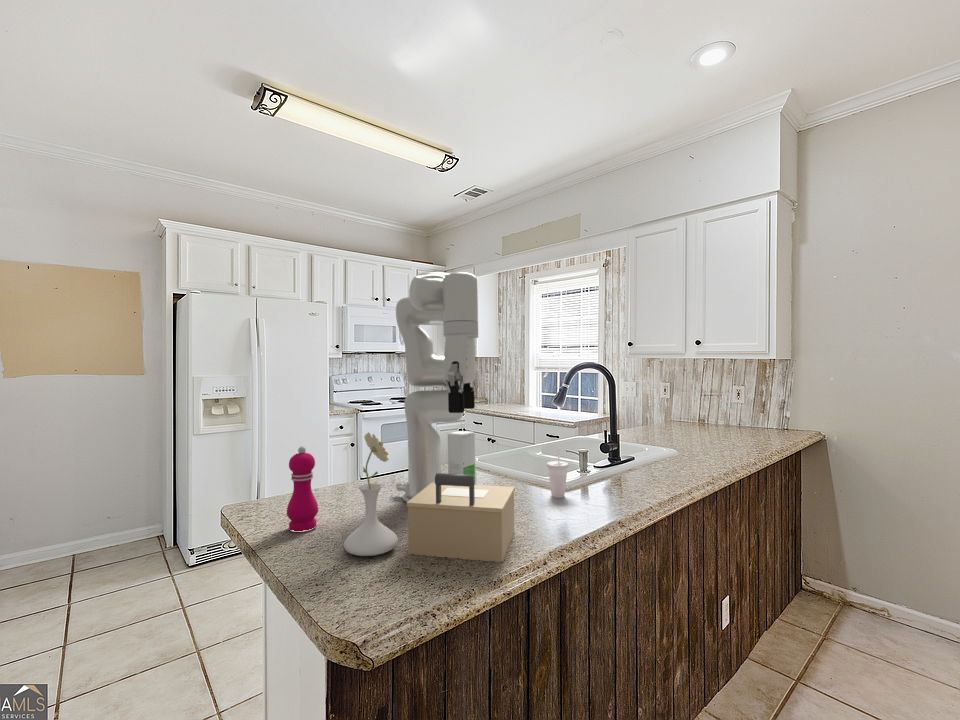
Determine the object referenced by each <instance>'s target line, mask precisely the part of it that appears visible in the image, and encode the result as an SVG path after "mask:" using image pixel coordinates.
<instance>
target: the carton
mask: <svg viewBox="0 0 960 720" xmlns="http://www.w3.org/2000/svg"><path fill="white" fill-rule="evenodd" d="M407 526H408V527H407V537H408V538H407V540H408V541H407V542H408V544H407V545H408V552H407V553H408V555H412V554H414V555H413V556H423V555H425V556H426V557H434V556H436V557H437V558H445V557H447V559H457V558H459V559H460V558H461V559H460V560H468V559H469V560H470V561H479V560H480V561H481V560H482V562H490V561H496V562H495V563H501V562H502V561H504V560H505V557H506V555H507V552H508V550H509V548H510V545H511V543H512V540H513V538H514V536H515V492H514V493H513V495H512V496H511V498H510V500H509V502H508V504H507V505H506V507H505V509H504V511H503V512H502V513H500V512H484V511H469V510H454V509H438V508H423V507H408V506H407ZM508 547H509V548H508ZM505 554H506V555H505ZM459 559H458V560H459ZM502 563H503V562H502Z"/></svg>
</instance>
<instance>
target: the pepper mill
mask: <svg viewBox="0 0 960 720" xmlns="http://www.w3.org/2000/svg"><path fill="white" fill-rule="evenodd" d="M297 451H298V452H297V453H296V454H293V455H292V456H291V457H290V459H289V461H288V468H289V470H290V471H291V472H292V473H291V474H290V476H291V478H290V479H291V481H292V482H293V490H292V495H291V497H290V500H289V501H288V503H287V507H286V516H287V518H288V519H289V520H290V521H289V522H288V530H289V529H290V530H294V531H303V530H309V529H312V528H314V527H315V526H316V527H317V519H316V518H315V517H316V516H317V515H318V512H319V504H318V501H317V500H316V498H315V496H314V493H313V489H312V479H313V478H314V472H313V470H314V468H315V466H316V460H315V457H314V456H313V454H311V453H309V452H306V447H305V446H299V448H298V449H297Z"/></svg>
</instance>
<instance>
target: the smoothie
mask: <svg viewBox="0 0 960 720" xmlns="http://www.w3.org/2000/svg"><path fill="white" fill-rule="evenodd" d="M560 450H561V449H560V448H559V447H558V448H557V460H553V461H548V462H546V467H547V470H548V477H549V484H550V485H549V486H550V493H551V497H552V498H556V499H561V498H564V497H565V493H566V492H565V491H566V485H567V484H566V483H567V474H568V469H569V463H568V462H566V461H560V459H561V458H560V457H561V455H560V454H561V453H560Z"/></svg>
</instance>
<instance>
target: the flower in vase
mask: <svg viewBox="0 0 960 720" xmlns="http://www.w3.org/2000/svg"><path fill="white" fill-rule="evenodd" d="M363 437H364V440H365V443H366V445H367V447H368V448H369V450H370V452H369V454H368V457H367V459H366V464H365V467H364V466H362V469H363V471H362V472H363V473H365V475H366V480H367V483H364V484H360V485H359V486H358V489H359V490H360V492H361V493H362V495H363V499H364V504H365V505H364V506H365V517H364V520H363V522H362V523H361V525H359V526H358V527H357V528H355V530H353V532H351V533H350V534H349V535H348V537H347V538H346V539H345V541H344V543H343V547H344V549H345V551H346V552H347V553H348V554H351V555H355V556H358V557H359V556H360V557H373V556H379V555H382V554H385V553H388V552H390V551H392V550H393V549H394V548H396V546H397V544H398V543H399V538H398V536H397V534H396V533H395V532H394V531H393V530H392V529H390V528H388V527H387V526H386V525H385V524H383V523H382V522H380V521H379V519H378V517H377V504H378V503H377V501H378V496H379V493H380V491H381V489H382V488H383V484H381V483H376V482H375V483H373V482H372V483H371V481H370V479H372V478H373V477H375V476H376V475H378V474H379V472H378V471H375V472H374V473H373V474H372V475H369V473H368V464H369V461H370V459H371V457H372V454H373V455H374V456H376V458H377V459H379V461H381V462H384V463H386V462H387V461H389V458H388V456H389V452H387V450H386V448H385V447H384V443H383V442H382V441H379V438H377V436H376V435H375V434H374V433H372V434H371V433H370V432H369V431H368V432H367V433H365V434H364V436H363Z"/></svg>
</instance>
